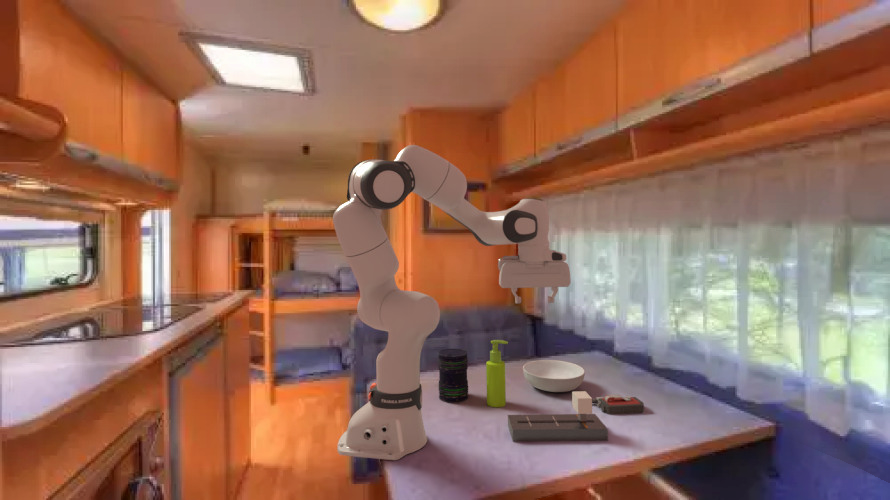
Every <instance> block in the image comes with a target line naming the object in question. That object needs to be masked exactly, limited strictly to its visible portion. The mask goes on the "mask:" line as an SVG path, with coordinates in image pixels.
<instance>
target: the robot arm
mask: <svg viewBox="0 0 890 500" xmlns="http://www.w3.org/2000/svg"><path fill="white" fill-rule="evenodd" d="M467 189H468V182H467V178H466V175H465V174H464V173H463V172H462V171H461V169H459V168H458V167H457V166H456V165H454V164H453V163H451V162H450V161H448V160H447V159H445V158H443V157H442V156H441V155H439V154H437V153H435V152H434V151H431V150H429V149H427V148H424V147H422V146H419V145H417V144H410V145H407V146H405V147H404V148H402V149H401V150H400V152H398V154H397V155H396V157H395V159H394V160H383V159H375V158H374V159H373V158H372V159H365V160H362V161H360V162H358V163H356V164H355V165H354V166H353V167H352V168H351V170H350V172H349V175H348V180H347V189H346V200H347V202H345V203H343V204H341V205H339V207H337V209H335V211H334V213H333V216H332V223H333V228H334V230H335V234H336V238H337V240H338V242H339V245H340V248H341V250H342V252H343V254H344V256H345V258H346V261H347V262H348V264H349V265H348V266H350V269H351V270H352V273H353V275H354V277H355V280H356V282H357V286H358V289H359V295H360V298H359V300H358V302H357V307H356V308H357V309H356V310H357V311H356V312H357V316H358V318H359V320H360V322H362V323H364V324H365V325H366V326H368V327H370V328H372V329H375V330H379V331H383V332H384V331H385V332H388V335H387V336H388V338H387V342H386V345H385V348H384V349H383V350H381V351H380V352H379V353H378V354H377V357H376V361H375V363H376V364H375V365H376V366H375V367H376V369H375V370H376V371H375V372H376V382H373V383H372V384H371V385H370V387H369V390H368V402H367V403H365V404H364V405H362V407H360V408H359V409H357V411H355V412H354V414H353V415H351V418H350V420H349V422H348V425H347V429H346V430H345V431H344V432H343V434H341V436H340V438H339V439H338V442H337V447H336V448H337V453H338V454H339V455H340V456H347V457H357V458H366V459H367V458H369V459H375V460H376V459H378V460H388V461H398V460H401V458H403V457H404V456H406V455H408V454H411V453H414V452H416V451H419V450H420V449H421V448H423V447H424V446H426V444H427V442H428V436H427V432H426V430H425V425H424V420H423V412H422V407H423V389H422V384H421V383H420V382H421V377H420V375H421V355H422V354H421V353H422V350H423V346H424V344H425V342H426V340H427V338H428V336H430V335H431V334H432V333H433V332H434V331H435V330H436V329H437V327H438V325H439V323H440V317H441V311H440V310H441V309H440V306H439V303H438V301H437V300H436V299H435V297H432V296H431V295H428V294H425V293H423V292H420V291H417V290H416V291H415V290H414V291H413V290H403V289H400V288H399V287H398V286H397V284H396V283H397V282H396V280H395V279H396V277H395V275H396V274H397V273H398V270H399V269H400V262H399V258H398V257H397V255H396V252H395V251H394V250H395V249H394V248H393V246H392V244H391V241H390V239H389V237H388V234H387V232H386V230H385V228H384V226H383V222H382V210H383V211H385V210H386V211H387V210H390V209H395V208H396V207H397V206H399V205H401V204H402V203H403V202H404V201H405V200H406V198H407V197H408V196H409V195H410V194H411V193H413V194H416V195H418V196H419V197H421V198H422V199H423V200H425V201H427V202H429V203H431V204H432V205H434V206H435V207H437V208H439V209H440V210H442V212H444V213H445V214H447V215H448V216H449V217H451V218H452V219H454V220H455V221H456V222H457V223H459V224H461V225H462V226H464V227H465V228H466V229H468V230H469V231H470V232H471V234H472V235H473V237H474V238H475V240H476V241H477V242H478V243H479V244H481V245H483V246H486V247H492V246H499V245H517V249H518V251H517V255H504V256H503V257H500V258H499V259H498V262H497V269H498V271H499V277H498V284H499V286H500V288H502V289H511V290H510V291H511V293H512V295H513V297H514V299H515V300H514V301H515V304H522V297H521V296H518V294H517V293H516V292H518V289H519V288H520V289H522V288H526V289H527V288H528V289H529V288H551V291H552V293H551V294H550V296H549V295H548V296H547V303H548V304H554V303H555V297H556V295H557V294H558V292H559V288H568V287H569V286H570V285H571V281H572V279H571V270H570V267H569V265H568V263H567V262H566V261H567V255H566V253H564V252H559V251H557V250H555V249H550V242H549V236H548V235H549V232H550V221H549V219H550V217H549V211H548V207H547V203H546V202H544V200H542V199H538V198H523V199H520V201H519V202H518V203H517V204H516V205H513V206H512V207H511V208H508V209H504V210H501V211H488V212H487V211H482V210H480V209H478V208H477V207H476V206H475V205H473V204H472V203H470V201H468V200H467V199H465V196H466V194H467Z"/></svg>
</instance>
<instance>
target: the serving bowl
mask: <svg viewBox="0 0 890 500" xmlns="http://www.w3.org/2000/svg"><path fill="white" fill-rule="evenodd" d="M522 371H523V375H524V378H525V380H526V381H527V382H528V383H529V384H530V385H531V386H532V387H535V388H536V389H539V390H541V391H545V392H550V393H565V392H571V391H573V390H575V389H577V388H578V387H580V386H581V385H582V383H583V381H584V379H585V373H586V372H585V369H584V368H583V367H582V366H580V365H578V364H575V363H573V362H569V361H565V360H556V359H539V360H533V361H529V362H526V363H525V364H524V365H523V366H522Z"/></svg>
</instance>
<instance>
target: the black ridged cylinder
mask: <svg viewBox="0 0 890 500" xmlns="http://www.w3.org/2000/svg"><path fill="white" fill-rule="evenodd" d="M437 357H438V358H437V359H438V360H437V364H438V370H439V371H438V372H439V374H438V375H439V380H438V394H439V395H438V399H439V400H440V401H441V402H444V403H448V404H457V403H458V404H459V403H462V402H463V403H464V402H466V401H467V400H468V398H469V395H468V393H469V381H468V367H469V366H468V364H469V360H468V351H467V350H466V349H462V348H445V349H442V350H439V351H438V356H437Z"/></svg>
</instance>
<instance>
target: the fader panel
mask: <svg viewBox="0 0 890 500" xmlns="http://www.w3.org/2000/svg"><path fill="white" fill-rule="evenodd" d="M507 426H508V430H509V433H510V437H511V440H512V442H584V441H585V442H589V441H597V442H599V441H609V439H608V438H609V436H608V435H609V434H608V432H609V429H608V427H606V425H605V424H604V423H603V422H602V420H601V419H600V418H599V417H598V416H597V415H596V413H592V414H586V421H579V419H578V413H564V414H563V413H562V414H561V413H556V414H553V413H552V414H550V413H549V414H546V413H545V414H543V413H542V414H507Z"/></svg>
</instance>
